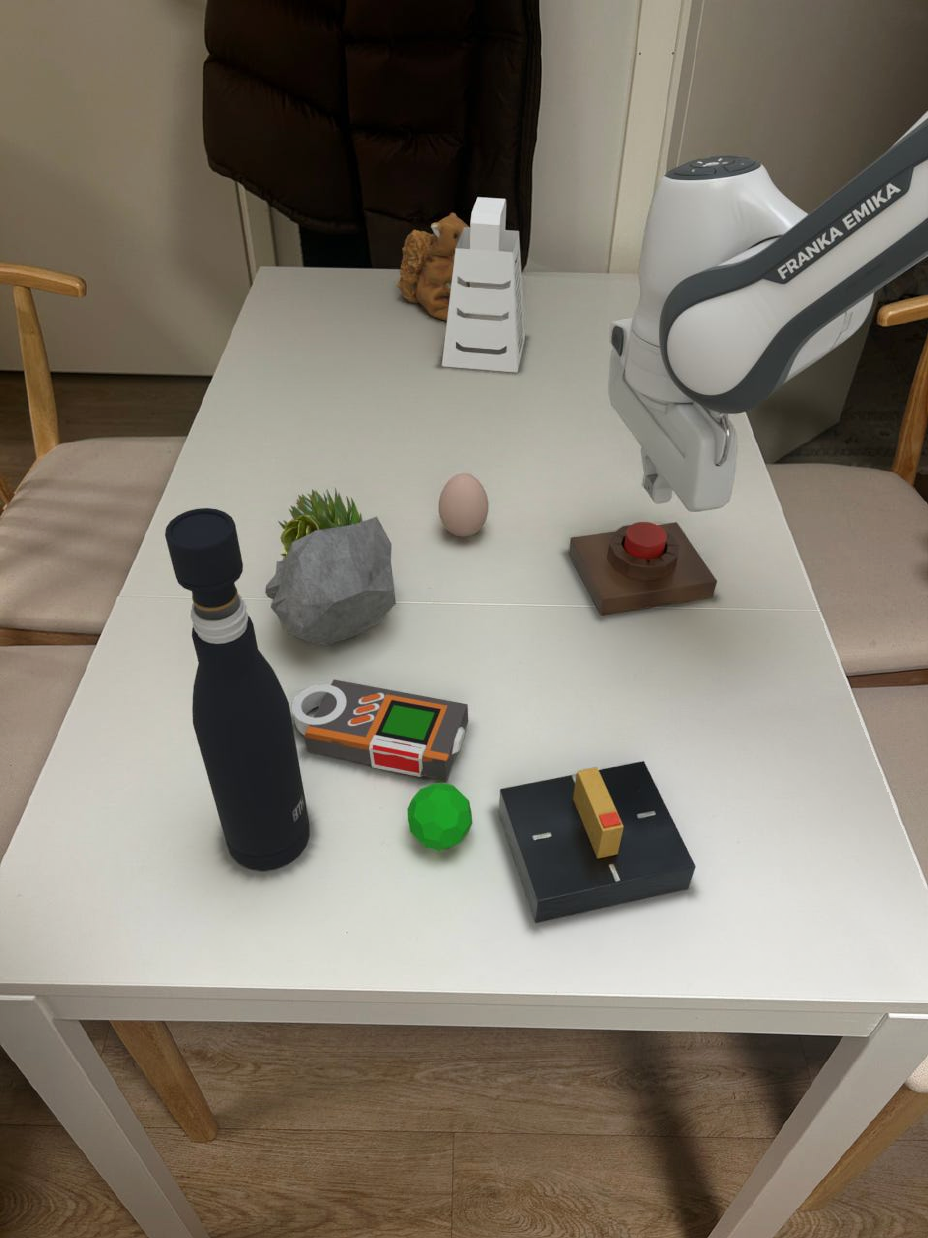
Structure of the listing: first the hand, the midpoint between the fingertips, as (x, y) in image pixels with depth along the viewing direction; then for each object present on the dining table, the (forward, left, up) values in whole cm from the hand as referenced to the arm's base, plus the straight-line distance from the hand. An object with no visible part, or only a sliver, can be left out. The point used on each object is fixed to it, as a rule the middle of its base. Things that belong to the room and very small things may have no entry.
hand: (655, 494), depth 89 cm
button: (0, 0, -7) cm, 7 cm away
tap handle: (+16, +30, -7) cm, 35 cm away
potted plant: (+32, -2, -11) cm, 34 cm away
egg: (+16, -11, -10) cm, 22 cm away
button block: (0, 0, -10) cm, 10 cm away
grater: (+3, -51, -10) cm, 52 cm away
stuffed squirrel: (+6, -68, -10) cm, 69 cm away
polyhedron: (+27, +26, -10) cm, 39 cm away
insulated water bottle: (+40, +23, -10) cm, 47 cm away
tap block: (+16, +30, -10) cm, 35 cm away
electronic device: (+30, +15, -10) cm, 35 cm away
